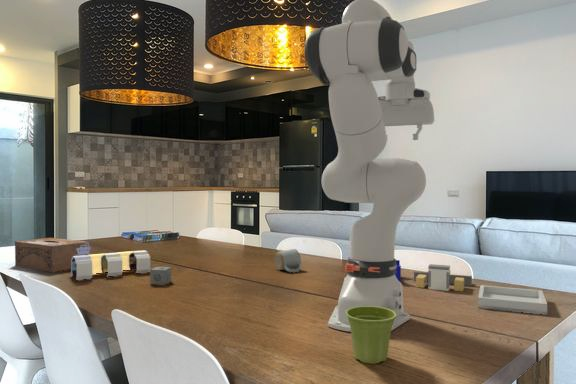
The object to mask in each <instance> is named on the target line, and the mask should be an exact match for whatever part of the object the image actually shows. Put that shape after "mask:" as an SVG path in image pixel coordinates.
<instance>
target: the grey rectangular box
mask: <svg viewBox="0 0 576 384" xmlns="http://www.w3.org/2000/svg"><path fill="white" fill-rule="evenodd" d="M427 268H428V270H427V273H428V282H427V288H428V290H435V291H437V290H438V291H445V292H447V291H448V292H449V291H450V289H451V284H450V274H451V265H446V264H431V263H430V264H429V265H428V267H427Z"/></svg>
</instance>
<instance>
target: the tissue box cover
mask: <svg viewBox="0 0 576 384" xmlns="http://www.w3.org/2000/svg"><path fill="white" fill-rule="evenodd" d="M86 242H87V241H86V240H85V241H83V240H75V239H67V238H59V237H58V238H57V237H45V238H44V237H43V238H34V239H24V240H16V241H14V257H15V259H14V260H15V264H14V266H15V267H19V266H20V267H19V268H25V269H30V268H31V270H36V269H37V271H42V270H43V271H42V272H47V271H48V272H49V273H57V271H59V272H63V271H62V270H64V271H68V270H67V269H70V270H71V259H72V258H73V256H81V255H78V252H77V248H80V247H89V246H88V245H89V244H88V243H89V242H88V243H87V246H81V245H86ZM84 243H85V244H84ZM81 251H82V250H81ZM87 251H88V249H87ZM79 252H80V250H79ZM84 255H89V254H84Z"/></svg>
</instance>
